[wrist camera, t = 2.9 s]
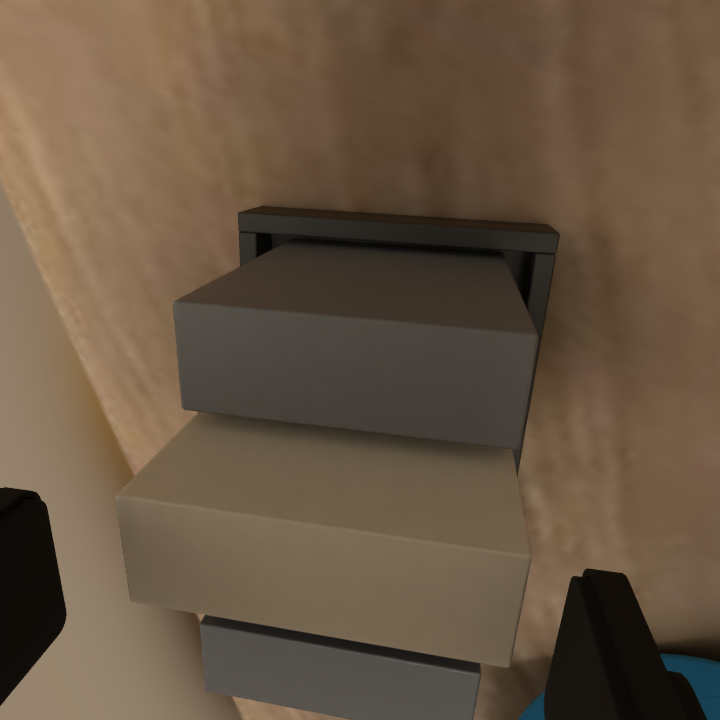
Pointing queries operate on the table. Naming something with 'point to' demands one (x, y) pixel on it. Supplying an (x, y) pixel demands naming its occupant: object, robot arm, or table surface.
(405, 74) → the table surface
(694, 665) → the alarm clock
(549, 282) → the grey tray
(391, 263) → the grey books
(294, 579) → the white box
